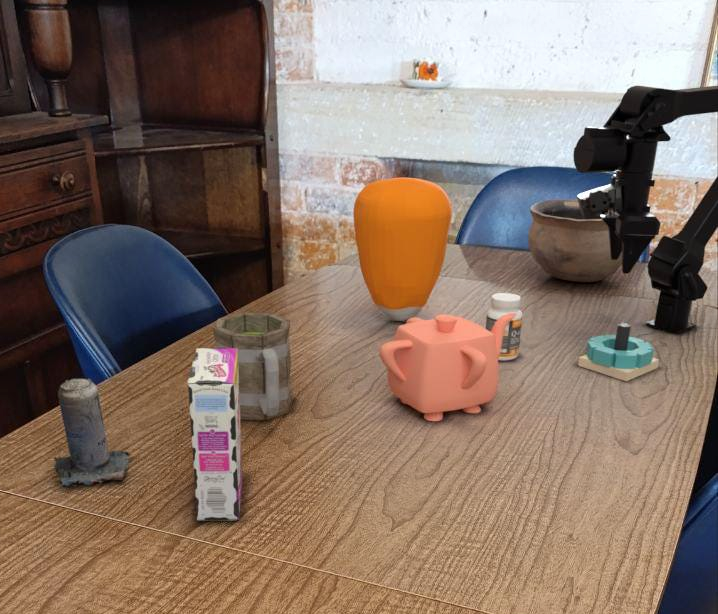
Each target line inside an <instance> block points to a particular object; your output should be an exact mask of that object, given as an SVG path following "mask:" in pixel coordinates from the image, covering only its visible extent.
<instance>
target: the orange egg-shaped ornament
mask: <svg viewBox="0 0 718 614" xmlns="http://www.w3.org/2000/svg"><path fill="white" fill-rule="evenodd" d="M352 214H353V215H352V216H353V226H354V236H355V243H356V248H357V253H358V261H359V267H360V271H361V275H362V278H363V280H364V284H365V286H366V287H367V290H368V292H369V294H370V297H371V300H372V302H373V303H374V305H375V306H376V307H377V308H378V309H379V310H380V311H381V312H382V314H383V315H384V316H385V317H386V319H389V320H391V321H394V322H405V321H406V322H407V320H408V319H409V318H414V317H415V318H417V316H418V315H419V314H420V312H421V310H422V309H423V308H424V306H425V305H426V304H427V303H428V300H429V298H430V296H431V294H432V292H433V290H434V287H436V286H435V285H436V283H437V281H438V279H439V277H440V273H441V271H442V268H443V264H444V261H445V257H446V251H447V245H448V240H449V239H448V238H449V234H450V233H449V232H450V228H451V223H452V217H453V207H452V203H451V200H450V198H449V196H448V194H447V192H445V190H444V189H443V188H442V186H440V185H438V184H436V183H435V182H432V181H430V180H425V179H421V178H415V177H393V178H392V177H391V178H387V179H380V180H376V181H372V182H369V183H368V184H367V185H365V186H364V187H363V188H362V189H361V190H360V192H359V193H358V194H357V196H356V198H355V201H354V205H353V213H352Z"/></svg>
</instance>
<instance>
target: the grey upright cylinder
mask: <svg viewBox="0 0 718 614" xmlns="http://www.w3.org/2000/svg"><path fill="white" fill-rule="evenodd" d="M57 398H58V402H59V409H60V413H61V417H62V424H63V427H64V432H65V437H66V442H67V447H68V453H69V455H68V456H65V457H64V456H63V457H62V456H61V457H60V456H59V457H56V456H53V459H54V462H55V464H54V469H56V470H57V471H58V474H59V475H58V477H59V480H60V482H61V483H62V486H63V487H64V486H65V487H66V488H68V487H69V486H70V485H73V484H77V483H78V485H80V484H84V485H85V486H92V485H93V484H95V483H99V484H101V483H103V482H106V481H110V480H114V481H119V480H120V481H121V480H124V476H125V474H126V470H127V469H129V464H130V463H129V462H130V459H131V457H130V456H131V454H130V453H129V451H125V450H123V449H121V450H120V449H119V450H112V451H110V450H109V445H108V439H107V435H106V434H107V433H106V429H105V423H104V417H103V412H102V406H101V401H100V395H99V389H98V387H97V385H96V384H95V383H94V382H93V381H92V379H91V378H87V379H86V378H83V377H81V378H71V379H70V380H69V379H66V380H65V381H64V382H63V383H61V384H60V385H59V389H58V391H57Z"/></svg>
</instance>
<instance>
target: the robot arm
mask: <svg viewBox="0 0 718 614" xmlns="http://www.w3.org/2000/svg"><path fill="white" fill-rule="evenodd" d="M713 113H718V85H709V86H699V87H691V88H689V87H688V88H681V89H670V88H669V89H668V88H660V87H653V86H645V85H633V86H630V87H629V88H627V90H626V92H625V93H624V94H623V96H622V98H621V101H620V103H618V106H617V107H616V108H615V110H614V111H613V112H612V114H611V115H610V116H609V118H608V119H607V120H606V122H605V123H604V125H603V126H602V127H595V126H585V127H584V130H583V135H581V136H580V137H579V138H578V140H577V142H576V144H575V146H574V148H573V163H574V166H575V169H576V170H577V172H579V173H580V174H589V173H590V174H591V173H612V172H615V171H616V173H615V174H612V176H611V177H610V182H609V184H607V185H603V186H598V187H596V188H592V189H590V190H587V191H584V192H581V193H578V194H577V195H576V199H578V203H579V207H580V212H581V214H582V215H583V217H585V218H587V217H591V216H594V214H597V213H600V214H601V215H600V217H601V219H602V220H603V221H604V222H605V223H606V225H607V226H608V231H609V241H610V252H611V259H612V260H617V259H618V258H619V256H620V254H621V252H622V265H621V271H622V273H623V274H626V275H627V274H630V273H631V271H632V270H633V269H634V267H635V265H636V264H637V262H638V261H639V259H640V258H641V256H642V255H643V253H644V252H645V250H646V249H647V248H648V246H649V245H650V244H651V242H652V240H654V239H655V238H656V236H658V235H659V234H660V229H661V221H660V220H659V219H658V217H657V216H656V215H654V214H653V213H652V212H651V205H650V204H649V200H650V199H649V198H650V192H651V188H652V187H653V188H654V187H655V182H656V180H655V179H654V178H653V175H654V169H655V162H656V157H657V156H656V155H657V151H658V150H657V149H658V144H659V142H661V143H662V142H670V141H671V140H672V139H671V135H669V133H667V132H666V130H665V128H664V126H665V125H668V124H672V123H673V122H675V121H676V120H677V119H679V118H682V117H685V116H686V117H687V116H695V115H702V114H703V115H705V114H713ZM604 214H605V215H604ZM717 229H718V175H717V176H716V178H715V179H714V180H713V182H712V183H711V185H710V186H709V188H708V190H707V191H706V193H705V194H704V195H703V197H702V199H700V202H699V203H698V204H697V206H696V207H695V209H694V210H693V212H692V214H691V215H690V217H689V218H688V219H687V221H686V222H685V224H684V226H683V227H682V229H681V230H680V231H679V232H678V233H676V234H675V235H674V236H672V237H671V236H668V235H663V236H662V237H661V238H660V239H659V241H658V242H657V245H656V247H655V248H654V249H653V251H651V252H650V253H649V257H650V259H648V260H649V261H648V262H647V265H646V267H647V274H648V277H649V278H650V283H651V288H652V289H654V290H657V291H659V295H658V300H657V306H656V312H655V316H654V319H652V320H650V321H647V322H646V323H645V324H646V326H647V327H652V328H655V329H658V330H662V331H666V332H670V333H673V334H680V333H683V332H686V331H689V330H691V329H694V328H695V327H696V323H693V322H689V320H690V315H691V311H692V305H693V302H694V301H697V300H701V299H703V298H704V296H705V294H706V292H707V290H708V288H709V287H708V286H707V284H706V282H705V281H704V279H703V278H702V277H701V275H700V274H699V273H700V271H701V269H702V267H703V266H704V262H705V261H704V260H705V251H706V247H707V244H708V242H709V241H710V240H711V238H712V237H713V236H714V234H715V233H716V231H717Z"/></svg>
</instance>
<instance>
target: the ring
mask: <svg viewBox="0 0 718 614" xmlns="http://www.w3.org/2000/svg"><path fill="white" fill-rule="evenodd" d="M615 339H616V334H604V335H601V334H599V335H596V336H594V337H591V338H588V340H587V341H586V342H587V343H586V348H585V349H586V350H585V355H587V357H588V359H589V360H592V362H594V363H597V364H600V365H604V366H607V367H611V366H614V368H622V369H635V367H637V368H642V367H644V366H646V365H649V364H651V362H652V358H654V350H655V349H654V347H653V346H652V344H651V343H650V342H647V340H644V339H642V338H638V337H634V336H631V335H629V341H628V347H627V351H621V350H614V346H615Z"/></svg>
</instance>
